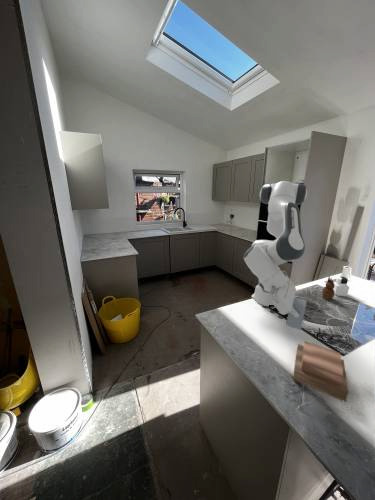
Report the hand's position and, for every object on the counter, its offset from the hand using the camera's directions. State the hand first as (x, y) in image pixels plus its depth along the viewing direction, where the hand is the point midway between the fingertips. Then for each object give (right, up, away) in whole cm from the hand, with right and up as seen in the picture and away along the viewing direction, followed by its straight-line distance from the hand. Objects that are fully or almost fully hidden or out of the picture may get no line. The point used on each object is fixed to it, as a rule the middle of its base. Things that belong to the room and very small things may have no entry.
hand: (298, 311), depth 77 cm
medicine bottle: (+62, -7, +63) cm, 88 cm away
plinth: (+8, -24, +2) cm, 26 cm away
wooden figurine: (+49, -8, +57) cm, 76 cm away
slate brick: (-1, -5, +2) cm, 6 cm away
